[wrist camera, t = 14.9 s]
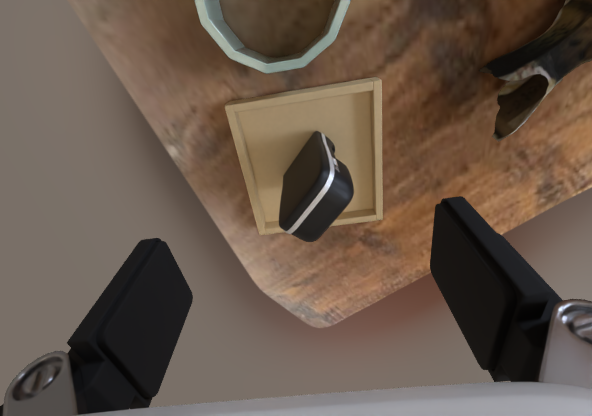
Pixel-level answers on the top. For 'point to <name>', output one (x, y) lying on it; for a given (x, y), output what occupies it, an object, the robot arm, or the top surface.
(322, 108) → the tray
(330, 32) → the pen cup
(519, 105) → the sculpture
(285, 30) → the top surface
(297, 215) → the battery charger
